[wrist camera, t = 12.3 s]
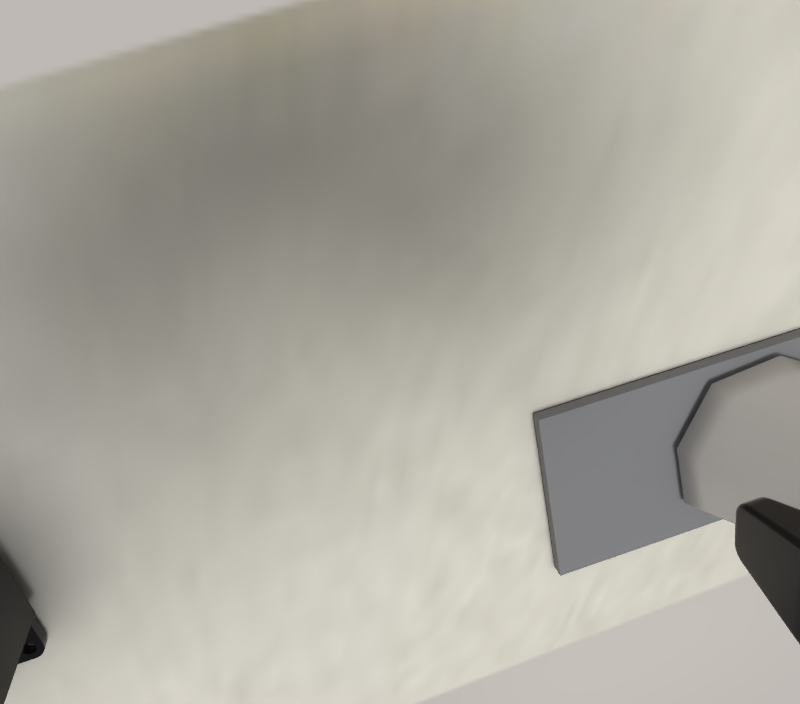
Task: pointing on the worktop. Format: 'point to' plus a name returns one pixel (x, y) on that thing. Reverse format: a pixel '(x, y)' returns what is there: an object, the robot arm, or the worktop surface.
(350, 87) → the worktop surface
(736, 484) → the flask
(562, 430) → the charcoal mat
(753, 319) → the worktop surface
